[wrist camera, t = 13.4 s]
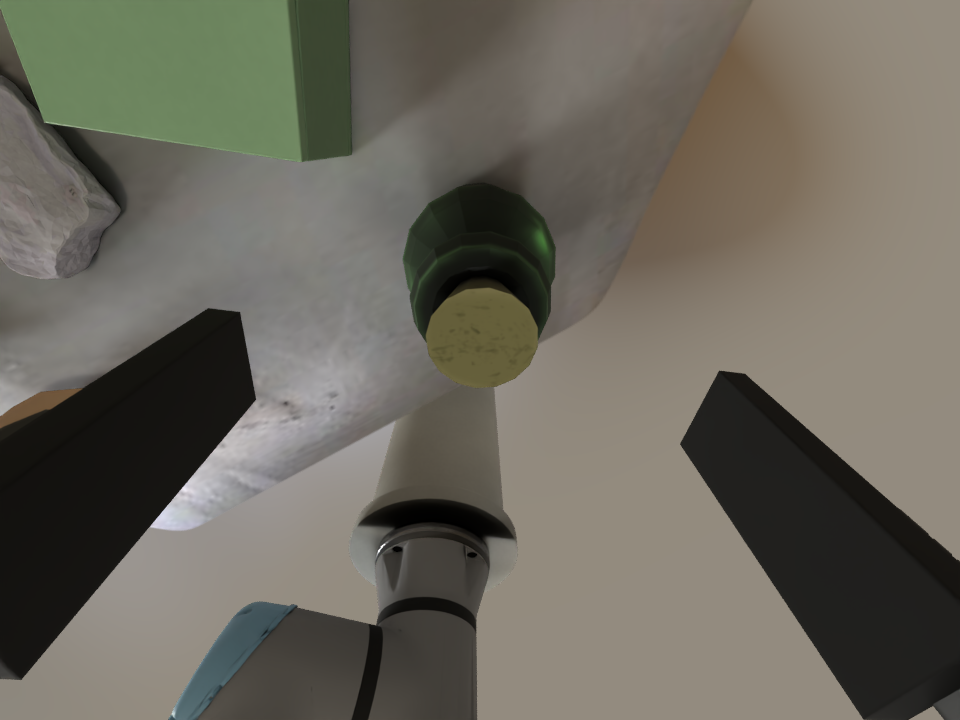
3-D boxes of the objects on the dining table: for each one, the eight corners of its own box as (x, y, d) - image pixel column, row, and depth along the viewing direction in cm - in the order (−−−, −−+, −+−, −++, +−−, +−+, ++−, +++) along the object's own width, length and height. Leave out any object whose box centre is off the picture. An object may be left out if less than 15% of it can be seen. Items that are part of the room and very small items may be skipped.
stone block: (-24, 32, 24) (-110, 149, 25) (-118, -2, 20) (-214, 141, 21) (164, 190, 29) (84, 280, 30) (122, 190, 25) (32, 295, 26)
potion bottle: (543, 178, 27) (636, 233, 11) (522, 288, 31) (570, 442, 15) (426, 162, 26) (356, 197, 11) (421, 277, 30) (364, 423, 15)
